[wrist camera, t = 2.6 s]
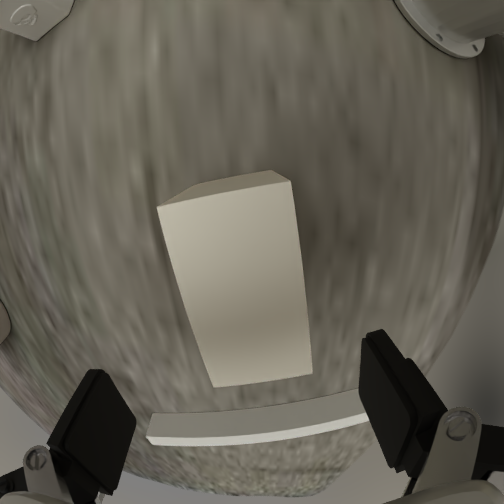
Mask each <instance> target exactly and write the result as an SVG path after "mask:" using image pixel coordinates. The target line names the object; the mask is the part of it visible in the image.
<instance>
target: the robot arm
mask: <svg viewBox="0 0 504 504" xmlns="http://www.w3.org/2000/svg"><path fill="white" fill-rule="evenodd" d="M394 1H395V3H396V4H397V6H398V8H399V9H400V11H401V12H402V13H403V15H404V16H405V18H406V19H407V20H408V21H409V22H410V24H411V25H412V26H413V27H414V28H415V29H416V30H417V31H418V32H419V33H420V34H421V35H422V36H423V37H424V38H425V39H427V40H428V41H429V42H430V43H431V44H433V45H434V46H436V47H437V48H438V49H440V50H441V51H443V52H445V53H447V54H449V55H451V56H454V57H457V58H463V59H466V58H471V57H474V56H477V55H479V54H480V53H481V52H482V50H483V48H484V43H485V37H489V36H492V35H495V34H498V35H500V36H502V37H504V0H394ZM358 392H359V397H360V400H361V402H362V404H363V407H364V409H365V411H366V414H367V416H368V418H369V421H370V423H371V425H372V428H373V430H374V432H375V435H376V437H377V439H378V442H379V444H380V447H381V449H382V451H383V454H384V456H385V459H386V461H387V464H388V466H389V467H390V468H393V467H394V468H395V470H396V473H399V472H401V471H404V470H406V473H407V475H408V477H410V479H409V481H408V484H407V486H406V488H405V490H404V492H403V495H402V497H401V498H398V499H396V500H393V501H389V502H386V503H384V504H504V495H503V494H502V493H504V427H499V426H492V425H485V424H481V419H480V417H479V415H478V414H477V413H476V412H475V411H474V410H472V409H470V408H466V407H456V408H453V409H450V410H449V411H448V410H447V408H446V407H445V405H444V404H443V402H442V401H441V400H440V398H439V396H438V395H437V393H436V392H435V391H434V389H433V388H432V386H431V385H430V384H429V382H428V381H427V379H426V378H425V377H424V375H423V374H422V372H421V371H420V370H419V368H418V367H417V365H416V364H415V363H414V361H413V360H412V359H410V358H406V359H405V358H404V357H403V355H402V354H401V352H400V351H399V350H398V348H397V347H396V346H395V344H394V343H393V341H392V340H391V339H390V337H389V336H388V335H387V333H386V332H385V331H384V330H383V329H380V330H376V331H373V332H369V333H367V334H366V338H363V339H362V344H361V363H360V377H359V389H358ZM135 428H136V418H135V416H134V415H133V413H132V412H131V410H130V409H129V407H128V406H127V404H126V402H125V401H124V399H123V398H122V396H121V395H120V393H119V391H118V390H117V388H116V386H115V385H114V383H113V381H112V380H111V378H110V376H109V375H108V374H107V373H105V371H104V370H102V369H90V370H88V371H87V373H86V374H85V376H84V378H83V379H82V381H81V383H80V384H79V386H78V388H77V389H76V391H75V393H74V394H73V396H72V398H71V399H70V401H69V403H68V405H67V406H66V408H65V410H64V412H63V414H62V415H61V417H60V419H59V421H58V423H57V424H56V426H55V428H54V430H53V432H52V434H51V436H50V438H49V439H48V442H47V444H48V446H49V447H50V450H48V449H47V448H46V447H44V446H40V445H38V446H34V447H32V448H30V449H29V450H28V451H27V452H26V454H25V456H24V459H23V467H21V468H19V469H17V470H15V471H12V472H10V473H8V474H5V475H3V476H1V477H0V504H101V502H100V500H99V498H98V496H97V495H98V491H99V492H100V493H102V494H107V495H111V496H112V495H113V491H114V490H116V489H117V486H118V483H119V480H120V476H121V472H122V469H123V466H124V463H125V459H126V456H127V453H128V450H129V446H130V443H131V440H132V437H133V434H134V431H135Z"/></svg>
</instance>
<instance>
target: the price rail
mask: <svg viewBox="0 0 504 504" xmlns="http://www.w3.org/2000/svg"><path fill="white" fill-rule="evenodd" d="M358 389H359V388H357V389H353V390H349V391H345V392H341V393H337V394H333V395H328V396H324V397H319V398H314V399H309V400H304V401H299V402H293V403H287V404H281V405H274V406H267V407H260V408H251V409H242V410H231V411H219V412H202V413H153V414H152V417H151V420H150V424H149V427H148V430H147V434H146V437H147V438H148V440H149V441H150V442H151V444H152V445H166V446H221V445H238V444H250V443H260V442H269V441H276V440H284V439H290V438H296V437H302V436H307V435H313V434H318V433H322V432H327V431H331V430H336V429H340V428H344V427H348V426H352V425H355V424H359V423H362V422H366V421H369V418H368V416H367V414H366V411H365V409H364V407H363V404H362V402H361V400H360V397H359V392H358Z"/></svg>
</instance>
